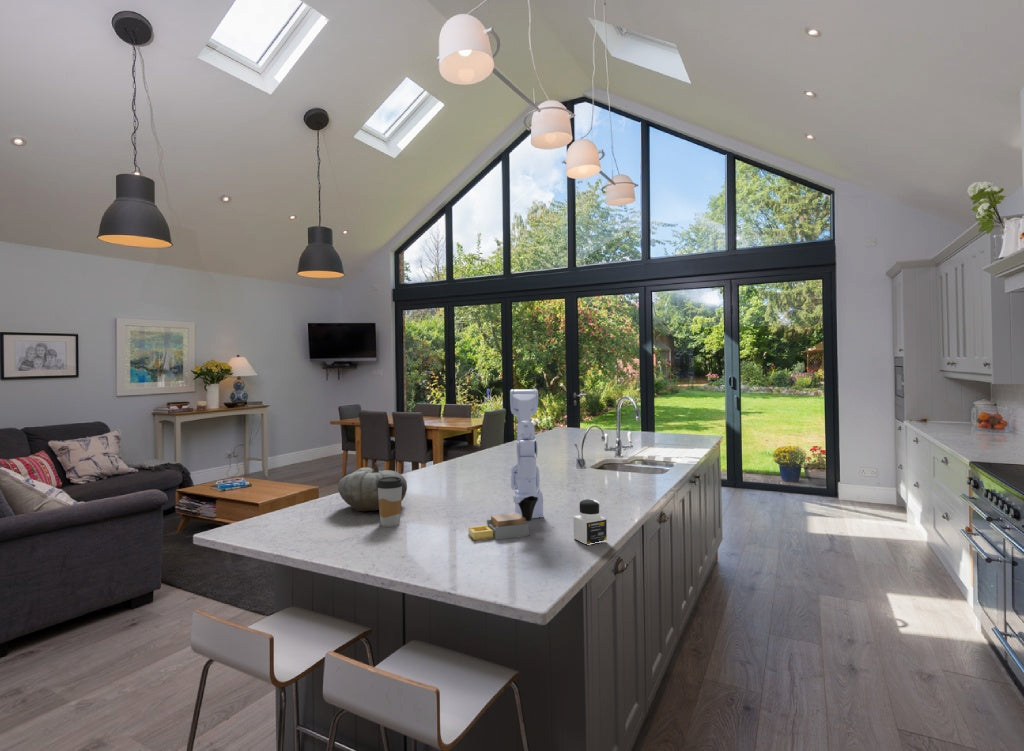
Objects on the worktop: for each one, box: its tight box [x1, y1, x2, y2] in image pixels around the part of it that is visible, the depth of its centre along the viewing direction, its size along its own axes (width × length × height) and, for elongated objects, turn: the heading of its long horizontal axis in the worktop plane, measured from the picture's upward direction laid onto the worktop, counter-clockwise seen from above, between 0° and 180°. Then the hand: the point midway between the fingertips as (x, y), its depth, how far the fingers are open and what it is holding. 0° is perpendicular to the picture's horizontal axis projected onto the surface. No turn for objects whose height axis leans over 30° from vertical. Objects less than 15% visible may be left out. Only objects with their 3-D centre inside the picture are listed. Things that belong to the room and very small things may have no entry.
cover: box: [490, 512, 527, 527], centre depth 171 cm, size 9×7×2 cm
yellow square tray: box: [468, 524, 494, 541], centre depth 168 cm, size 6×6×2 cm
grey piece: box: [486, 519, 530, 540], centre depth 171 cm, size 10×9×4 cm
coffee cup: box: [377, 477, 403, 528], centre depth 182 cm, size 8×8×15 cm
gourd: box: [337, 462, 408, 512], centre depth 204 cm, size 25×25×17 cm
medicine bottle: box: [573, 498, 608, 544], centre depth 163 cm, size 7×7×12 cm
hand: (527, 520), depth 173 cm, fingers closed
